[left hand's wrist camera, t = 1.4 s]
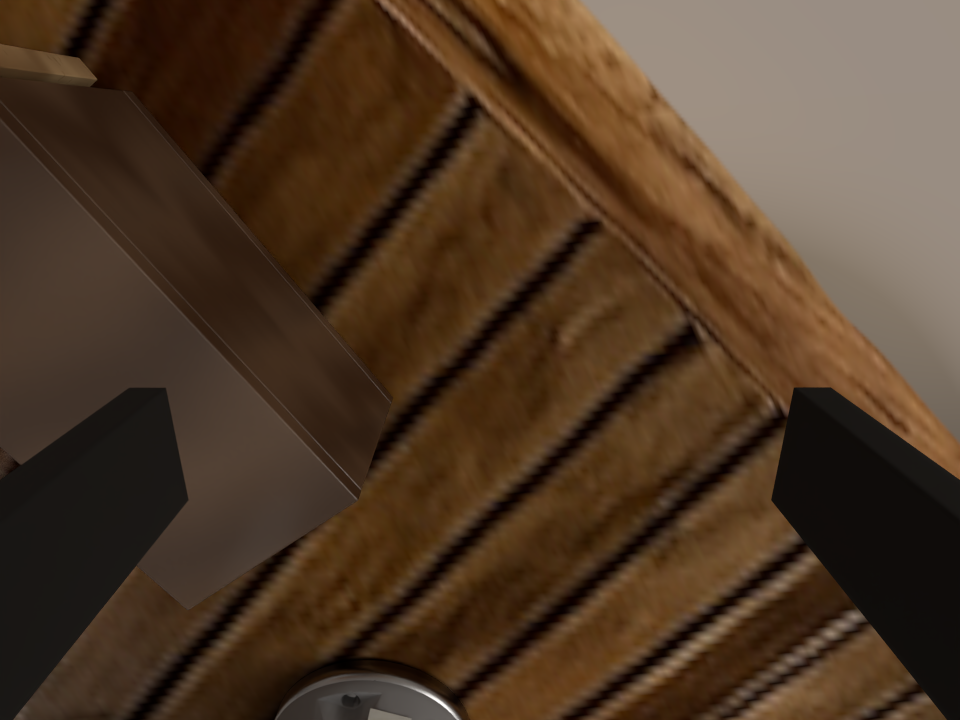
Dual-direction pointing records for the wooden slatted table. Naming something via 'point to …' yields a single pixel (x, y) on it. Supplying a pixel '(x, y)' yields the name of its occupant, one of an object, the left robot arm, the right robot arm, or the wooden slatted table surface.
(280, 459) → the cabinet
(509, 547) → the wooden slatted table surface
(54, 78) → the drawer
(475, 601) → the wooden slatted table surface
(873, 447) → the left robot arm
